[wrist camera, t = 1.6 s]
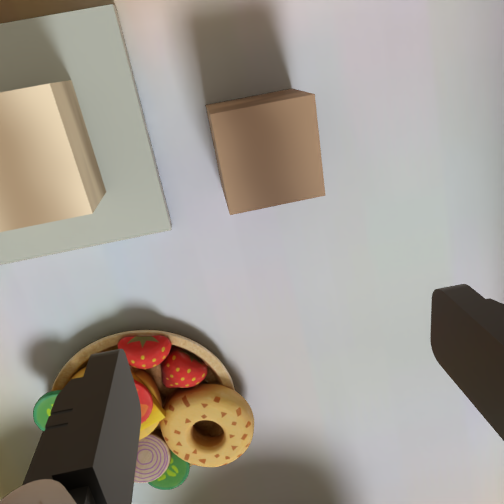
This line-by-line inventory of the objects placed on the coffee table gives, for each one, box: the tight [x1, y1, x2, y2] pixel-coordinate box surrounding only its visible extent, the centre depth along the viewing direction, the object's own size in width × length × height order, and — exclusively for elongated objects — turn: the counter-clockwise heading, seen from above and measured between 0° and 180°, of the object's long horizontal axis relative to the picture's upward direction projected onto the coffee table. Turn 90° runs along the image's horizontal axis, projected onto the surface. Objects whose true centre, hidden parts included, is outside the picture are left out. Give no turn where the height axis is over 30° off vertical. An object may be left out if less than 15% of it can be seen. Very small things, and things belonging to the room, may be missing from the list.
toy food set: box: [33, 330, 254, 490], centre depth 31 cm, size 13×13×3 cm
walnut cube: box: [206, 89, 325, 215], centre depth 24 cm, size 5×5×5 cm
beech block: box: [0, 80, 106, 232], centre depth 22 cm, size 6×6×4 cm
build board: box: [0, 4, 172, 265], centre depth 24 cm, size 12×12×1 cm
